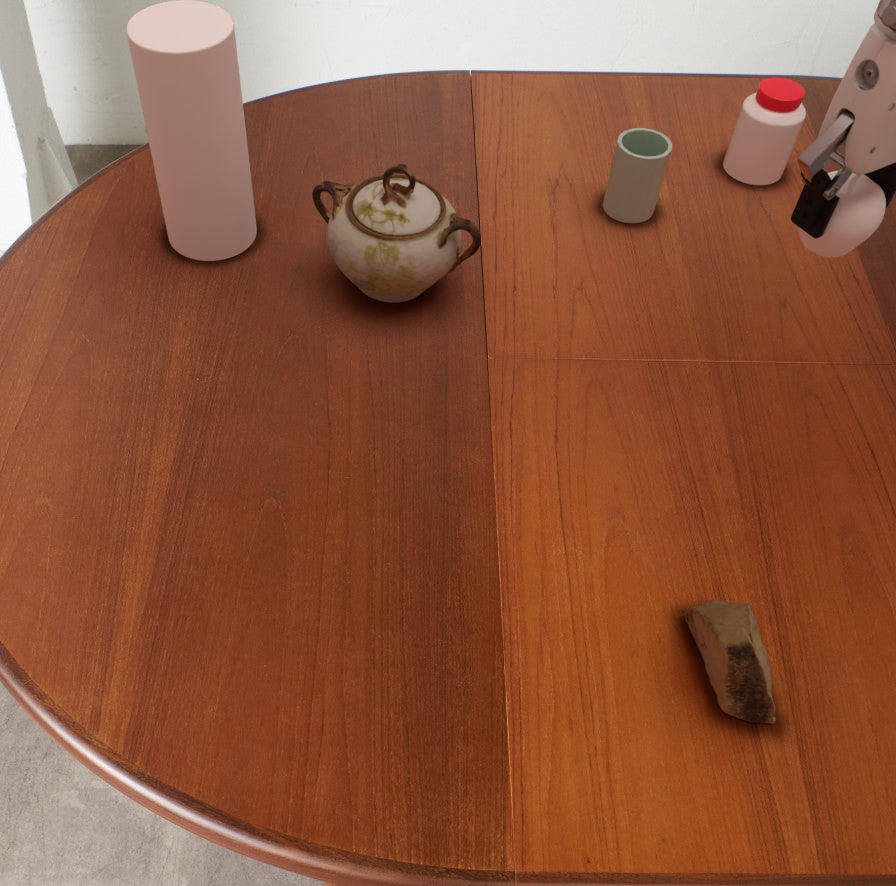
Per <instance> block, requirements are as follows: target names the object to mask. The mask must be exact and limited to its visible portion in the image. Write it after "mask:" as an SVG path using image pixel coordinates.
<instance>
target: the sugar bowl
mask: <svg viewBox="0 0 896 886" xmlns="http://www.w3.org/2000/svg"><path fill="white" fill-rule="evenodd" d="M323 192H326V193H328V194H329V195H330V196H331V199H332V201H333V202H332V203H333V206H332V212H331V213H330V211H328V209H327V208H326V206H325V204H324V202H323V200H322V199H321V195H322V193H323ZM338 192H341V193H343V194H344V195H343V196H342V197H340V195H339V193H338ZM311 195H312V200H313V204H314V206H315V208H316V210H317V213H319V215H320V216H321V218H322V219H323V220H324V221H325V222H326V224H327V229H326V232H327V233H326V237H327V239H326V240H327V244H328V248H329V249H328V250H329V253H330V255H331V257H332V259H333V261H334V263H335V264H336V266H337V267H338V269H339V270H340V271H341V273H342V274H343V275H344V276H345V278H347V279H348V280H349V281H350V282H351V283H352V284H354V285H355V286H356V287H357V288H358V289H359V291H361V292H362V294H364V295H366V296H367V297H369V298H371V299H373V300H376V301H379V302H382V303H392V304H393V303H395V304H396V303H404V302H407V301H411V300H413V299H416V298H417V297H419V296H420V295H421V294H422V293H423V292H425V291H426V290H427V289H429V288H431V287H432V286H433V285H435V284H436V283H437V282H438V281H440V280H441V279H442V278H443V277H444V276H445V275H448V274H450V273H452V272H454V270H455V269H456V268H457V267H458V266H460V265H461V264H462V263H463V262H464V261H466V260H467V259H469V258H472V256H474V255H475V254H476V253H477V252H478V251H479V249H480V247H481V244H482V236H481V232H480V230H479V228H478V227H477V225H476V224H475V223H474V221H472V219H468V218H465V217H464V218H463V217H460V216H459V214H458V213H457V211H456V209H455V208H454V207H453V205H452V204H451V203H450V201H449V200H448V199H447V198H446V196H444V195H443V194H442V193H440V192H439V190H437V189H436V188H435V187H434V186H432V185H431V184H429V183H428V182H426V181H424V180H421V179H419V178H416V177H415V174H414V173H413V171H412V170H411V169H410V168H409V166H408V165H407V164H405V163H398V164H396V165H393V166H391V167H389V168H387V169H386V170H385V171H384V173H383V174H382V175H375V176H373V177H370V178H367V179H365V180H363V181H361V182H359V184H354V183H353V184H342V183H338V182H333V181H329V180H323V181H321V182H319V183H318V184H316V185H315V187H313V190H312V194H311ZM462 230H463V231H465V232H467V233H469V234H470V236H471V238H472V242H471V244H470V246H468V248H466V249H465V250H464V251H462V252H460V249H461V245H462V244H461V243H462Z"/></svg>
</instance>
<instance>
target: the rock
mask: <svg viewBox="0 0 896 886" xmlns="http://www.w3.org/2000/svg"><path fill="white" fill-rule="evenodd" d="M683 616H684V619H685V622H686V624H687V626H688V629H689V631H690V633H691V634H692V637H693V638H694V641H695V644H696V646H697V649H698V652H699V653H700V655H701V657H702V660H703V663H704V668H705V672H706V674H707V676H708V679H709V682H710V685H711V686H712V688H713V691H714V693H715V694H716V701H717V704H718V706H719V708H720V709H721V711H722V712H724V714H727V715H729V716H731V717H734V718H737V719H739V720H743V721H746V722H749V723H753V724H771V725H773V724H775V722H776V721H777V719H776V717H775V715H776V712H777V708H776V705H775V702H774V700H773V694H772V690H773V681H772V679H773V678H772V674H771V672H772V669H771V663H770V660H769V657H768V652H767V650H766V647H765V646H764V643H763V642H762V638H761V636H760V632H759V627H758V621H757V619H756V617H755V615H754V613H753V611H752V606H751V604H750V603H749V602H743V603H741V602H740V603H737V602H732V601H729V602H727V601H721V599H719V598H714V599H710V600H708V601H706V602H704V603H701V604H698V605H694V606H691V607H686V608H685V610H684V614H683Z"/></svg>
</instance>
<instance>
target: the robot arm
mask: <svg viewBox="0 0 896 886" xmlns="http://www.w3.org/2000/svg"><path fill="white" fill-rule="evenodd" d="M873 21H874V23H873V24H872V25H871V26H870V27H869V29H868V31H867V33H866V34H865V36H864V38H863V40H862V41H861V43H860V45H859V46H858V48H857V50H856V52H855V54H854V55H853V57H852V59H851V62H850V63H849V65H848V68H847V69H846V71H845V72H844V75H843V77H842V79H841V81H840V83H839V84H838V87H837V89H836V91H835V93H834V96H833V98H832V100H831V102H830V104H829V106H828V108H827V111H826V113H825V115H824V118H823V120H822V124H821V126H820V129H819V131H818V134H817V138H816V139H815V140H814V141H813V142H812V143H811V144H810V145H809V146H808V147H807V148H805V149H804V151H803V152H802V153H801V154H800V155H799V157H798V158H797V164H798V168H799V170H800V176H801V178H802V180H801V181H802V183H803V184H804V185H803V187H802V189H801V192H800V194H799V197H798V199H797V202H796V204H795V207H794V209H793V211H792V214H791V216H790V221H791V222H792V223H793V224H794V225H795V226H796V227H799V228H801V229H802V230H803V231H805V232H806V233H808V234H809V235H810V236H812V237H813V238H815V239H817V238H819V237H821V236H822V235H823V234H824V232H825V229H826V227H827V225H828V223H829V221H830V219H831V216H832V214H833V212H834V210H835V208H836V206H837V204H838V201H839V199H840V198H839V197H838V196H837V195H836V194H837V193H838V191H839V190H840V189H841V187H842V186H843V185H844V183H845V182H846V181H847V179H848V178H849V177H850V175H851V174H852V173H854V174H856V175H861V174H864V175H865V176H867V177H869V178H870V179H871V180H872V181H873V182H875V183H876V184H877V185H879V186H880V187H881V189H882V190H883V192H884V195H885V199H886V208H885V210H886V209H887V208H889V205H890V203H891V201H892V200H893V197H894V196H895V194H896V0H879V2H878V4H877V6H876V8H875V11H874V14H873ZM841 145H842V146H844V147H845V148H844V154H843V153H841V152H839V151H838V149H839V148H840V146H841ZM831 161H833V162H835V163H836V164H838V165H839V166H840V168H839V169H838V170H839V171H838V172H837V174H836V175H835V176H834V178H833V179H832V180H831V178H830V177H829V175H828V173H829V172H827V171H825V169H826V168H827V167H828V165H829V164H830V163H831ZM799 228H798V229H799Z"/></svg>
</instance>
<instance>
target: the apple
mask: <svg viewBox="0 0 896 886" xmlns="http://www.w3.org/2000/svg"><path fill="white" fill-rule="evenodd" d="M839 170H840V169H838V170H832V171H830V172H827V173H828V175H829V177H830V178H831V180H832V179H833V178H834V176H835V175H836V174H837V172H838V171H839ZM836 195H837V196H838V197H839V198H840V199H839V201H838V204H837V206H836V208H835V210H834V212H833V214H832V216H831V219H830V221H829V223H828V225H827V227H826V229H825V232H824V234H823V235H822V236H821V237H819V238H817V239H815V238H813V237H812V236H810V235H809V234H808V233H806V232H805V231H803V230H802V229H801V228H799V227H798V226H797V227H798V236H799V239H800V241H801V243H802V245H803V246H804V247H805V249H806V250H808V251H810V252H811V253H813V254H815V255H817V256H819V257H821V258H827V259H828V258H829V259H831V258H832V259H833V258H839V257H843V256H845V255H847V254H849V253H850V252H851V251H853V250H854V249H856V248H857V247H859V245H861V244H862V243H863V242H865V241H866V240H868V239H869V238H870V237H871V236H872V235H873V234H874V233H875V232H876V231H877V229H878V228H879V227H880V225H881V224H882V222H883V220H884V218H885V213H886V209H887V208H886V199H885V195H884V192H883V190H882V189H881V187H880V186H879V185H877V184H876V183H875V182H873V181H872V180H871V179H870V178H869V177H867V176H865V175H864V174H861V175H856V174H854V173H852V174H851V175H850V177H849V178H848V179H847V181H846V182H845V183H844V185H843V186H842V187H841V189H840V190H839V191H838V193H837V194H836ZM885 208H886V209H885Z"/></svg>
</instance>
